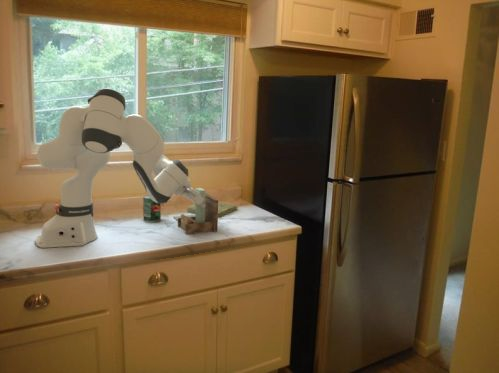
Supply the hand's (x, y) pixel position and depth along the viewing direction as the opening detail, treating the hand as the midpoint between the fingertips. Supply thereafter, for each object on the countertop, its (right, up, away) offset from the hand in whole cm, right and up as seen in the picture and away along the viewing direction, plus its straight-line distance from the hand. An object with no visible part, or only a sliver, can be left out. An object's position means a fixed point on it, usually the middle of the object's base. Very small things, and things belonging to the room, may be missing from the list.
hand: (201, 204), depth 190 cm
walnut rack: (-3, -11, +1) cm, 11 cm away
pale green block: (-1, -9, +2) cm, 9 cm away
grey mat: (-7, -8, +14) cm, 17 cm away
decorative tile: (+2, -5, +32) cm, 32 cm away
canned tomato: (-25, -8, +13) cm, 29 cm away
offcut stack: (-6, -11, -1) cm, 12 cm away
